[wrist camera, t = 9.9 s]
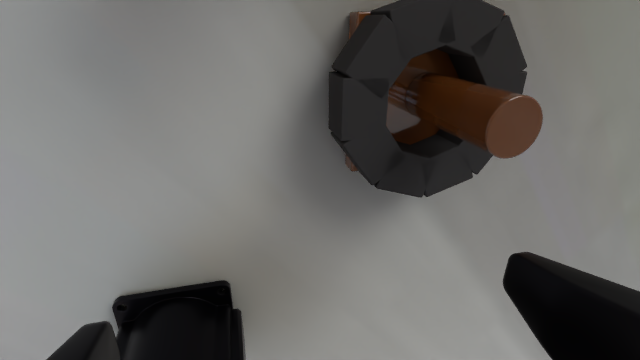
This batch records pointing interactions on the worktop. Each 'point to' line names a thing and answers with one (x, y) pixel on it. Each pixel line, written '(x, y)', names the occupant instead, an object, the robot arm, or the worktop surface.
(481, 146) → the copper peg on plate
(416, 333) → the worktop surface
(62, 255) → the worktop surface
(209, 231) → the worktop surface
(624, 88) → the worktop surface
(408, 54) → the rubber ring
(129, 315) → the robot arm
